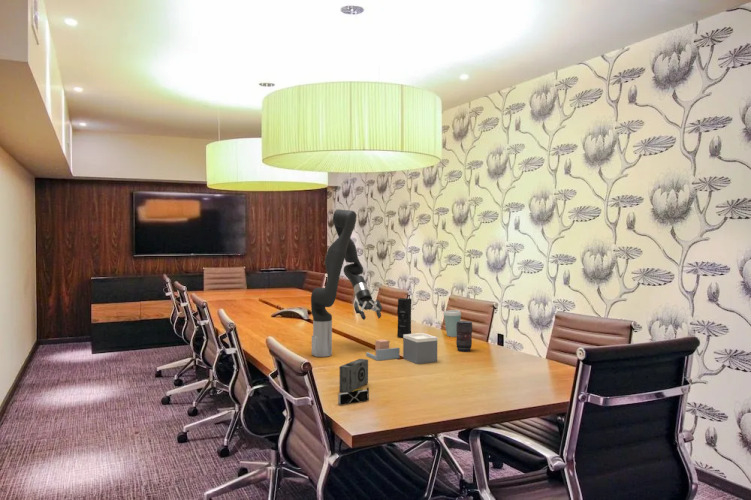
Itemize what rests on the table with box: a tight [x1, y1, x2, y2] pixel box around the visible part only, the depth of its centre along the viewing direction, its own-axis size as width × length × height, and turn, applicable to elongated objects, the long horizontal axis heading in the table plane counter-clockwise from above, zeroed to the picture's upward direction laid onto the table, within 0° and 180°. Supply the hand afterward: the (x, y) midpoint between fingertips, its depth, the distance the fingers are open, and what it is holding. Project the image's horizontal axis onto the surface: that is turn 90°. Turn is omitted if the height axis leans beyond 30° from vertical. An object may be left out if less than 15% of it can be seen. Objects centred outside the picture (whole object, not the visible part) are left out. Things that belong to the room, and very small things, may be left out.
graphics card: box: [337, 387, 370, 406], centre depth 189 cm, size 12×3×5 cm, turn 119°
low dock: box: [365, 347, 401, 362], centre depth 262 cm, size 12×12×5 cm
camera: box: [338, 358, 369, 393], centre depth 207 cm, size 16×4×10 cm, turn 151°
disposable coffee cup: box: [443, 309, 462, 338], centre depth 319 cm, size 11×11×15 cm
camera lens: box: [455, 320, 473, 353], centre depth 277 cm, size 8×8×15 cm
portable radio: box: [396, 294, 413, 339], centre depth 314 cm, size 8×6×25 cm
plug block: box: [374, 338, 390, 356], centre depth 262 cm, size 5×5×8 cm
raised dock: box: [402, 332, 438, 365], centre depth 255 cm, size 11×13×12 cm
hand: (372, 318), depth 272 cm, fingers open, 8 cm apart
